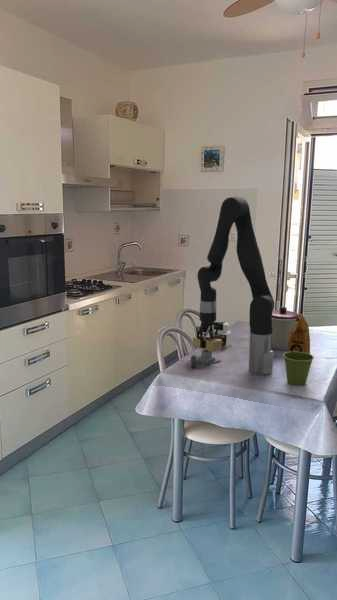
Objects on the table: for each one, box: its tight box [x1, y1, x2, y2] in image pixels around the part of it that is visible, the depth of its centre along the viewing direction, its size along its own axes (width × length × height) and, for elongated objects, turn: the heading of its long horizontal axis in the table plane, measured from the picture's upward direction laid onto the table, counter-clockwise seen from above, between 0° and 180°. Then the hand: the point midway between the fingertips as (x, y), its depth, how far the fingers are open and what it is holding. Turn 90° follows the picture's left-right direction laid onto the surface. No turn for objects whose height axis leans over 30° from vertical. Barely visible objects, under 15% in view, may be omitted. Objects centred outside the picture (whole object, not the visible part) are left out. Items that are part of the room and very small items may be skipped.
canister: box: [272, 306, 300, 351], centre depth 231 cm, size 18×18×21 cm
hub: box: [197, 349, 221, 366], centre depth 210 cm, size 9×9×8 cm
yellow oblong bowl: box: [192, 335, 222, 353], centre depth 210 cm, size 12×6×4 cm, turn 48°
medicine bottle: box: [214, 321, 232, 349], centre depth 235 cm, size 7×7×12 cm
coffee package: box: [287, 313, 311, 354], centre depth 206 cm, size 10×12×22 cm
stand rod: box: [190, 354, 198, 370], centre depth 201 cm, size 2×2×5 cm
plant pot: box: [282, 351, 315, 386], centre depth 184 cm, size 12×12×11 cm
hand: (207, 346), depth 210 cm, fingers closed on yellow oblong bowl, 6 cm apart
